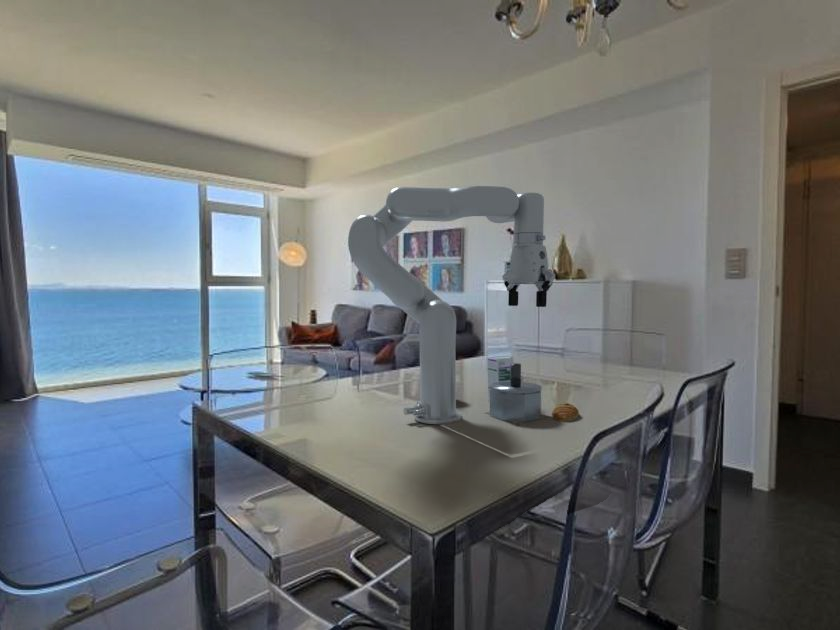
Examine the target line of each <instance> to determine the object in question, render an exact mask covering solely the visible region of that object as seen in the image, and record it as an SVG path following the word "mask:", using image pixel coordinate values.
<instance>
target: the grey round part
mask: <svg viewBox="0 0 840 630" xmlns="http://www.w3.org/2000/svg"><path fill="white" fill-rule="evenodd" d="M542 391H543V387H542V385H540V384H537V383H533V382H527V381H522V364H521V363H518V362H513V363H511V364H510V382H497V383H493V384H491V385H490V402H489V412H490V415H489V416H490V417H492V418H495V419H498V420H501V421H504V422H505V421H506V422H508V421H520V422H519V423H522V422H523V423H524V422H525V423H526V422H531V421H536V420H537V421H538V420H541V419H542V418H541V415H542Z"/></svg>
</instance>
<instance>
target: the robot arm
mask: <svg viewBox="0 0 840 630" xmlns="http://www.w3.org/2000/svg"><path fill="white" fill-rule="evenodd" d="M386 196H387V197H386V200H385V205H384V206H383V207H381V208H380V209H379V210H378V211H377V212H376V213H375V214H374V215H370V214H363V215H360V216H358V217H357V218H355V219H354V221H353V222H352V224H351V225H350V228H349V232H348V238H347V244H348V245H347V246H348V247H347V248H348V251H349V255H350V258H351V260H352V262H353V264H354V265H355V267H356V268H357V269H358V271H360V273H361V275H363V276H364V277H365V278H366V279H368V280H369V281H370V282H371V283H372V284H373V285H374V286H375V287H376V288H378V289H377V290H380V291H381V292H382V293H383V295H385V296H386V297H387V298H388V299H389V300H390V301H391V302H392V303H393V304H394V306H396V307H397V308H399V309H401V310H402V311H403V312H404V313H405V314H407V315H408V316H409V317H410V318H411V319H412V320H413V321H415V322H416V323H417V324H418V325H419V326H418V327H419V328H418V329H419V332H418V333H419V390H420V391H419V396H420V399H419V401H416V404H415V405H413V406H409V407H408V406H407V407H406V406H405V407H404V408H403V414H404V416H409V415H412V416H414V420H415V421H416V422H419V423H421V424H427V425H442V424H447V423H454V422H457V421H460V420H462V417H463V414H462V413H461V412H459V411H458V410H457V399H456V396H457V395H456V393H457V391H456V390H457V386H456V385H457V383H456V382H457V381H456V374H457V372H456V369H457V368H456V366H457V365H456V346H457V345H456V344H457V343H456V342H457V341H456V340H457V339H456V338H457V316H456V313H455V310H454V308H453V306H451V305H450V303H449V302H446V301H443V300H442V299H441V298H440V297H439V296H438V295H437V294H436V293H434V292H433V291H432V290H431V289H430V288H429V287H427V285H425V284H424V283H423V282H422V281H421V280H420V279H419V277H417V276H415V275H414V274H412V273H410V272H409V271H408V270H407V269H406V268H404V267H403V266H402V265H401V264H400V263H399V262H398V261H397V260H395V259H394V258H393V257H392V256H391V255H390V254H389V253H388V252H387V251H386V250H385V248H384V247H385V246H386V245H387V244H388V243H390V242H391V240H393V239H394V238H395V237H396V236H397V235H398V234H400V232H402V231H403V230H404V229H405V228H407V226H408V225H410V224H411V223H412V221H417V222H418V221H419V222H420V221H424V222H442V223H443V222H452V221H455V220H459V219H462V218H469V217H485V218H486V219H487V220H488V221H489V222H491V223H494V224H504V223H511V222H513V246H512V249H511V254H510V259H509V269H508V270H507V272H505V273H504V274H503V275H502V280H503V282H504V283H503V285H504V286H505V288H506V290H507V292H508V306H509V307H518V305H519V290H518V289H519V287H520V286H521V285H535V287H536V289H537V291H536V293H535V294H536V296H535V298H536V299H535V301H536V302H535V306H536V307H538V308H547V301H548V300H547V294H548V293H547V292H548V291H550V288H551V287H552V285H553V282H554V280H555V277H556V272H555V273H554V272H553V271H552V270H550V269H549V260H548V259H549V258H548V252H547V247H546V245H544V241H546V235H544V220H545V219H544V217H545V215H544V213H545V198H544V196H543V194H542V193H538V192H523V193H519V194H517V192H515V191H514V190H513V189H512V188H509V187H506V186H495V185H493V186H491V185H490V186H489V185H472V186H463V187H462V186H461V187H458V186H457V187H451V188H446V187H445V188H442V187H439V188H438V187H436V188H435V187H416V186H415V187H414V186H413V187H411V186H401V187H400V186H399V187H395V188H393V189H392V190H390V192H389V193H388V194H387V195H386ZM517 290H518V291H517Z"/></svg>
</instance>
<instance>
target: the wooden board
mask: <svg viewBox="0 0 840 630" xmlns="http://www.w3.org/2000/svg"><path fill="white" fill-rule="evenodd" d="M485 415H489V416H490V411H487V412H485ZM544 418H548V416H547V415H543V414H541V419H544ZM507 422H508V423H511V424H517V423H521V422H520V421H507Z"/></svg>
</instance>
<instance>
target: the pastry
mask: <svg viewBox="0 0 840 630" xmlns="http://www.w3.org/2000/svg"><path fill="white" fill-rule="evenodd" d="M551 415H552V418H553V420H555V421H558V422H563V423H565V422H566V423H567V422H568V423H569V422H572V421H574V420H577V419H578V417H579V415H580V412H579V410H578V408H577V407H576V406H575V405H573V404H571V403H569V402H564V403H560V404H558V405H557V406H556V407H554V408H553V410H552V412H551Z"/></svg>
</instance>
